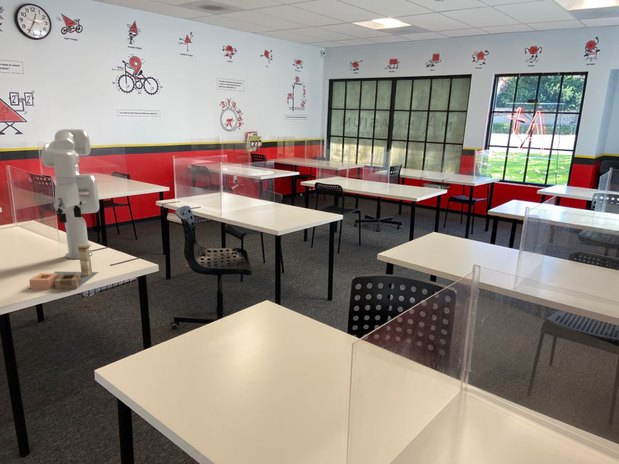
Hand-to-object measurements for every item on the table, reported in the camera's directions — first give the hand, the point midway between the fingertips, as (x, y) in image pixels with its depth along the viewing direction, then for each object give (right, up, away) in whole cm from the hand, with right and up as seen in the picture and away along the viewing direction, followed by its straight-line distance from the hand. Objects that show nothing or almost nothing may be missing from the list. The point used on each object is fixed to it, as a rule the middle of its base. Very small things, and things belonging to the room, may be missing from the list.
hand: (70, 219), depth 196 cm
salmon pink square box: (-9, -28, -4) cm, 30 cm away
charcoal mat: (-4, -27, +2) cm, 27 cm away
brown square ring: (+1, -28, -4) cm, 29 cm away
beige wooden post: (+2, -25, +9) cm, 27 cm away
